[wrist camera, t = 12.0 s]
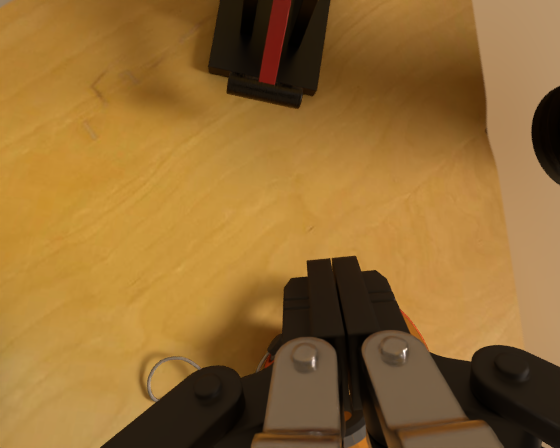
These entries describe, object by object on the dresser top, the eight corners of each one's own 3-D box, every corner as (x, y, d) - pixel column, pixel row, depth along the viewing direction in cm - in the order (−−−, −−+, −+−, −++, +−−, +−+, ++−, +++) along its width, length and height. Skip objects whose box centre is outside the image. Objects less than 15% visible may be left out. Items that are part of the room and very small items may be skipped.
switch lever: (296, 106, 27) (300, 111, 25) (227, 91, 27) (225, 95, 24) (342, -100, 23) (352, -116, 21) (260, -125, 22) (261, -144, 20)
